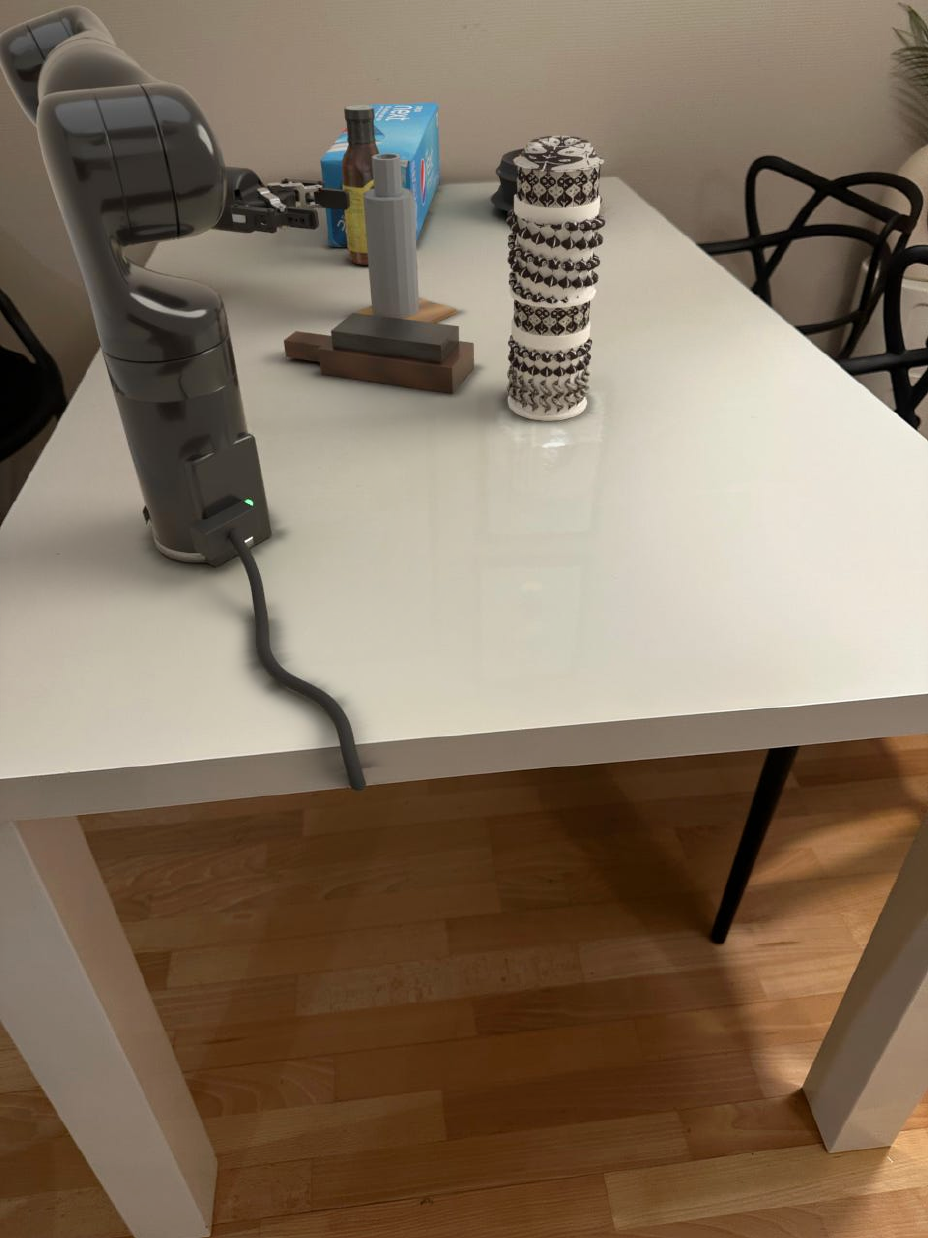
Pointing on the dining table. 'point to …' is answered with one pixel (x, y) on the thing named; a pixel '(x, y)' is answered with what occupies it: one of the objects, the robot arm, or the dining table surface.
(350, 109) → the sauce bottle
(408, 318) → the cork mat
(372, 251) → the steel bottle
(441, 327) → the scrub brush
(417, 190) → the soda pack
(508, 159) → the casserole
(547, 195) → the decorative candle
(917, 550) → the dining table surface
